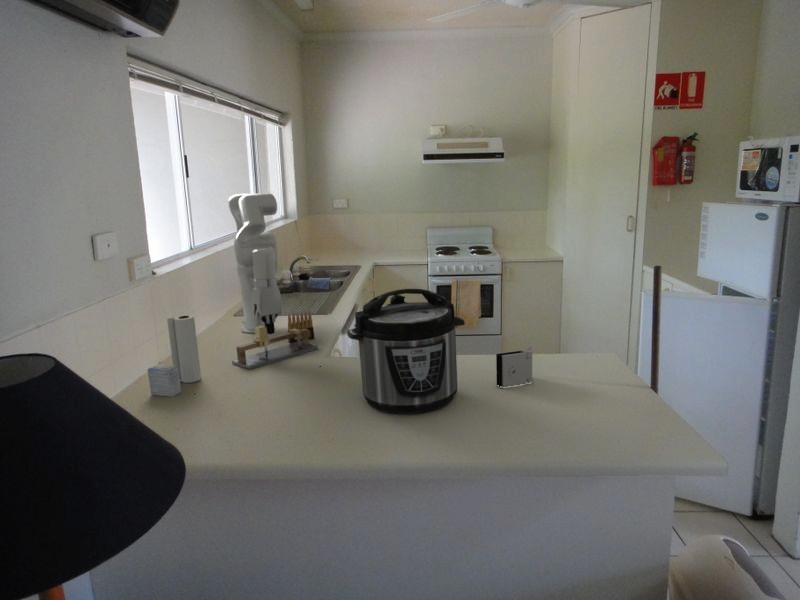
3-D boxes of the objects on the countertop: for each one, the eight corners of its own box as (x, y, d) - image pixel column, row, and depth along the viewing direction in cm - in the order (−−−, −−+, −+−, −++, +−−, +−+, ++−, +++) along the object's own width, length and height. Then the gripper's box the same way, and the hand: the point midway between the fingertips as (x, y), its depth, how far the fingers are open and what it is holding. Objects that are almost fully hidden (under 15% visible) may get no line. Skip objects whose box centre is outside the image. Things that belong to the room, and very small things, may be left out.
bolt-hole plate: (232, 363, 203) (231, 360, 203) (299, 344, 225) (299, 341, 224) (249, 369, 196) (249, 366, 196) (317, 348, 217) (317, 345, 217)
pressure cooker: (340, 414, 154) (332, 298, 148) (376, 379, 180) (371, 280, 174) (449, 423, 145) (446, 301, 138) (470, 385, 171) (468, 281, 165)
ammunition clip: (312, 337, 234) (310, 309, 232) (314, 338, 232) (312, 310, 230) (288, 342, 228) (285, 313, 226) (290, 343, 227) (287, 314, 224)
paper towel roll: (205, 378, 189) (197, 315, 185) (191, 384, 183) (183, 319, 179) (188, 376, 192) (181, 314, 188) (175, 382, 186) (166, 318, 182)
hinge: (529, 376, 177) (530, 345, 175) (542, 381, 172) (542, 349, 170) (494, 386, 170) (494, 353, 168) (506, 391, 165) (506, 358, 163)
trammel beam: (238, 362, 200) (236, 343, 199) (306, 343, 222) (304, 326, 220) (244, 364, 198) (242, 345, 196) (312, 344, 219) (311, 327, 218)
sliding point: (254, 355, 206) (251, 327, 204) (263, 353, 209) (261, 324, 207) (262, 358, 203) (259, 329, 201) (272, 355, 206) (269, 326, 204)
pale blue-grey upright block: (181, 392, 176) (178, 365, 175) (171, 397, 172) (168, 370, 171) (161, 390, 179) (157, 364, 177) (150, 395, 175) (147, 368, 173)
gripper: (276, 279, 211) (280, 327, 215) (241, 285, 201) (246, 336, 204) (289, 280, 206) (293, 330, 210) (253, 287, 196) (258, 339, 199)
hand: (270, 333), depth 207 cm, fingers closed
